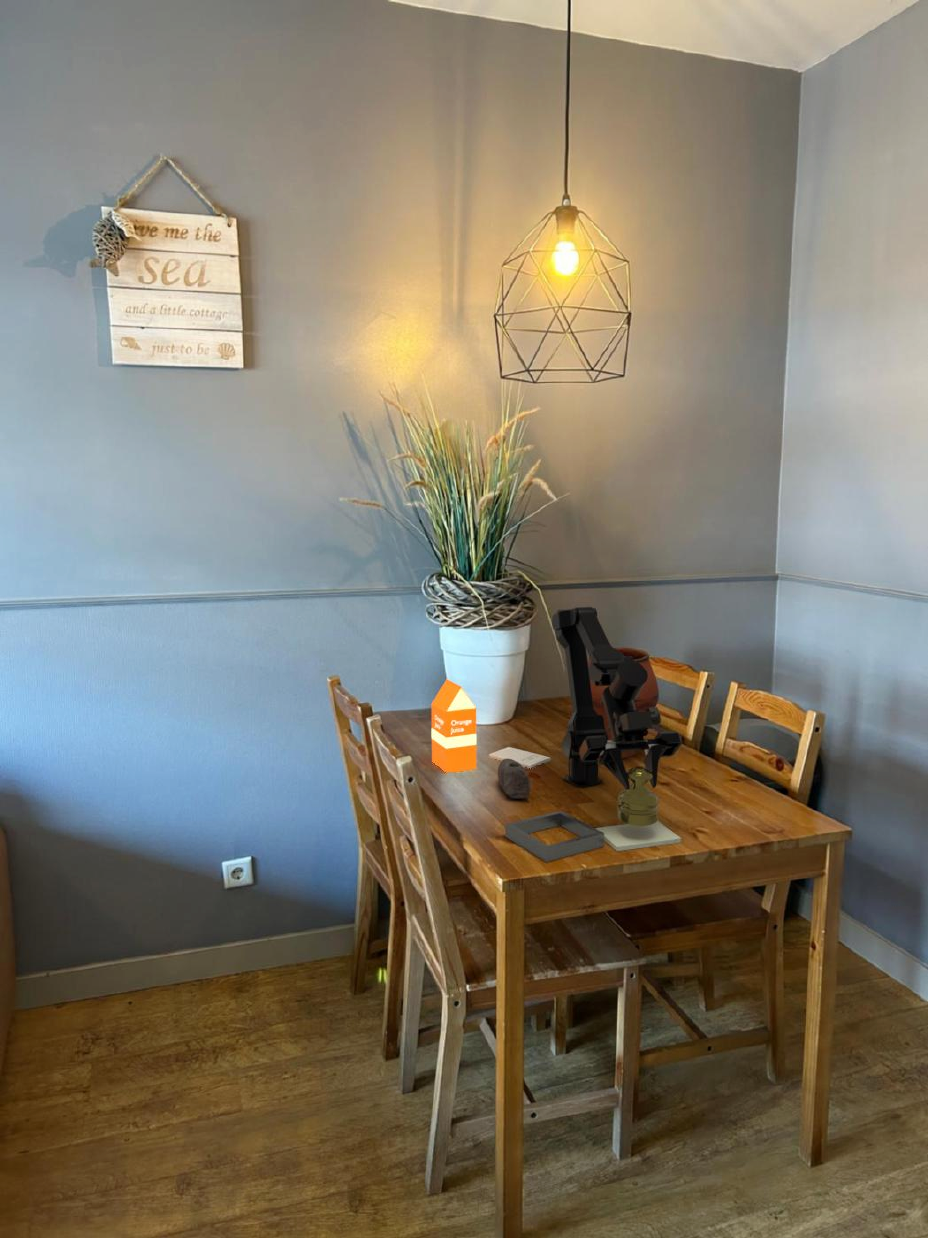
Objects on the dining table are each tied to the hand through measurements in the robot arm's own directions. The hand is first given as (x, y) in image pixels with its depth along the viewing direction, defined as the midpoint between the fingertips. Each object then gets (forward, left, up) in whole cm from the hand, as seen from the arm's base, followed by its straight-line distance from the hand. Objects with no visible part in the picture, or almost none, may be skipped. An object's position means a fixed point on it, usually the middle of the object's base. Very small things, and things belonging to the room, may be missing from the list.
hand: (641, 788), depth 162 cm
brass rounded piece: (-1, 0, -7) cm, 7 cm away
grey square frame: (-8, -14, -10) cm, 19 cm away
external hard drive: (-51, +8, -11) cm, 53 cm away
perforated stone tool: (-34, -6, -10) cm, 36 cm away
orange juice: (-55, -8, -10) cm, 56 cm away
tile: (-1, 0, -10) cm, 10 cm away
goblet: (-43, +31, -10) cm, 54 cm away
